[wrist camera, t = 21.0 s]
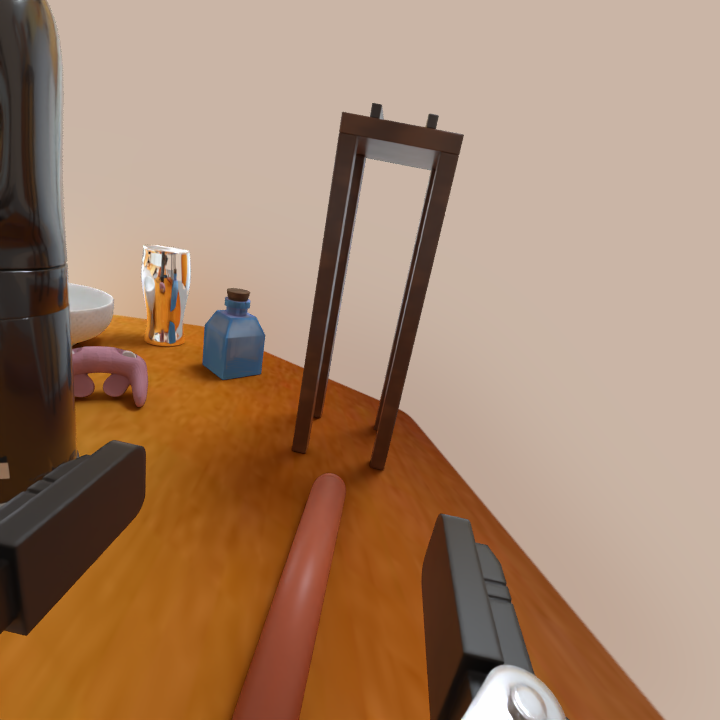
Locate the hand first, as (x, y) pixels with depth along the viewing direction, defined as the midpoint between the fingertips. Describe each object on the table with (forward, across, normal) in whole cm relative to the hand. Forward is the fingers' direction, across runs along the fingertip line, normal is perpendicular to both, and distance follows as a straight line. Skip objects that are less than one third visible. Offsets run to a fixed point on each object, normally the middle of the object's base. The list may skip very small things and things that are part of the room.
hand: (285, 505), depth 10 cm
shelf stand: (+32, 0, +17) cm, 36 cm away
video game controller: (+29, +28, +17) cm, 44 cm away
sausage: (+11, 0, +16) cm, 20 cm away
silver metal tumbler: (+51, +33, +17) cm, 63 cm away
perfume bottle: (+45, +19, +17) cm, 52 cm away
